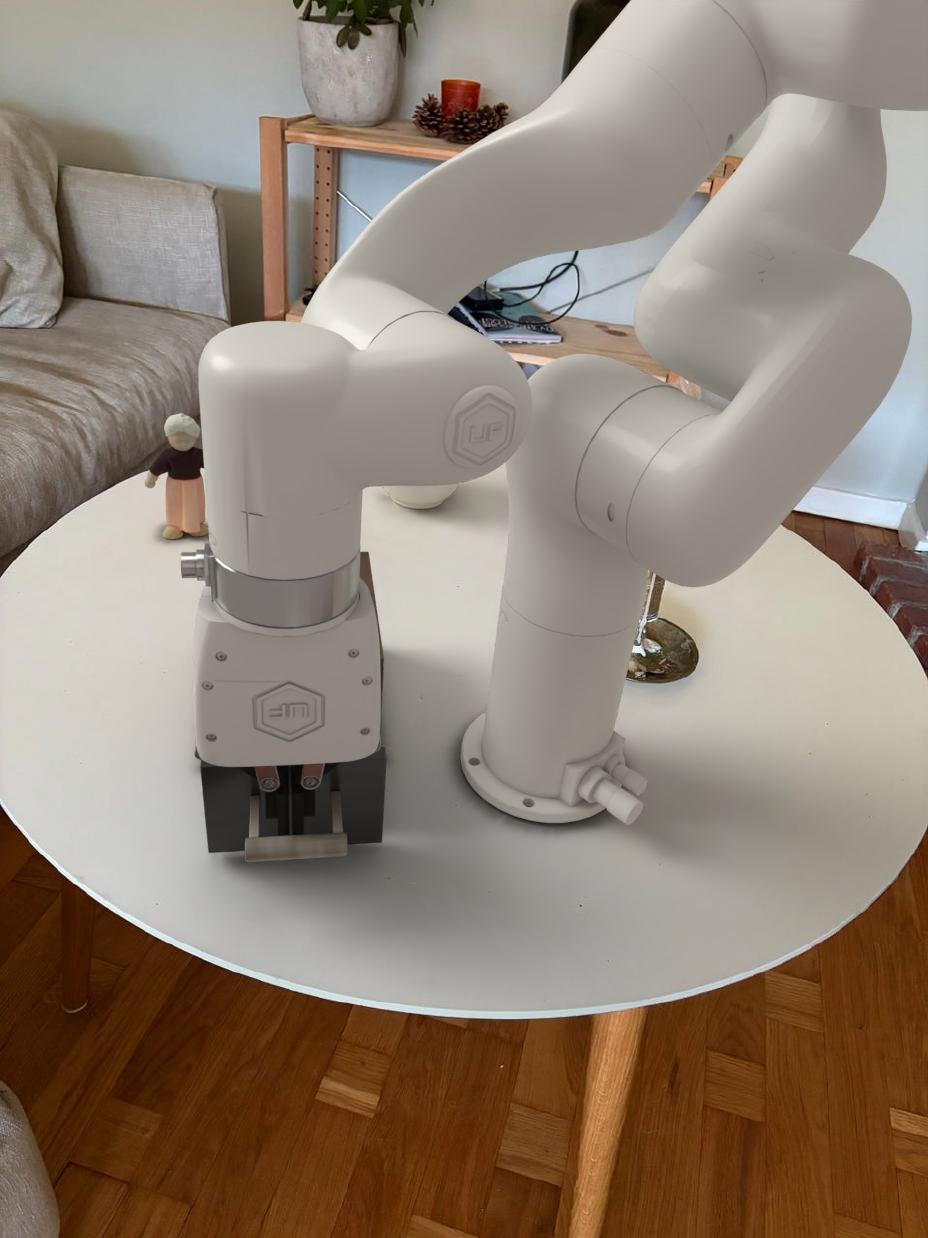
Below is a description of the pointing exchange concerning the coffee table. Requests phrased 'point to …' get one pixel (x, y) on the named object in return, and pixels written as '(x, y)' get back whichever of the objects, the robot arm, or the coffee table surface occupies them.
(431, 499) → the trinket box
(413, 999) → the coffee table surface
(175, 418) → the grandmother figurine
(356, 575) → the robot arm
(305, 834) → the pull-out drawer
